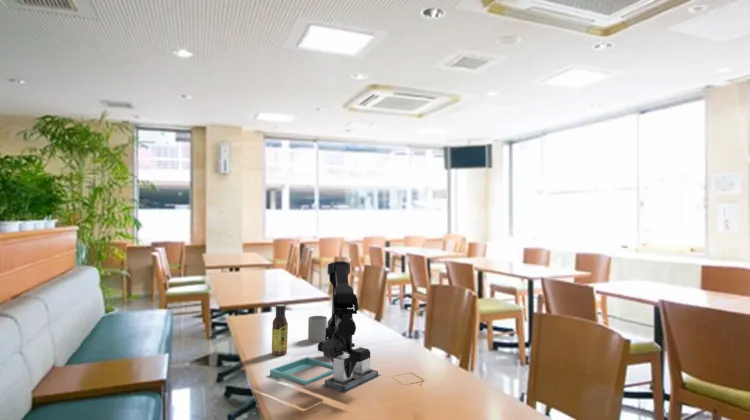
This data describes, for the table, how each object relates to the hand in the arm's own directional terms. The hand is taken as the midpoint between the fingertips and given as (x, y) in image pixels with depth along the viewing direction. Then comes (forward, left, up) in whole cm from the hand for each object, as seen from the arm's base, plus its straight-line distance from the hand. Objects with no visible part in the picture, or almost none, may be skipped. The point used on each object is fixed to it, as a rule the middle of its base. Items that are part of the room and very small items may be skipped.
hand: (343, 375), depth 148 cm
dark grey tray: (-5, 0, -4) cm, 6 cm away
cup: (-35, -46, -5) cm, 58 cm away
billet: (0, 0, -2) cm, 2 cm away
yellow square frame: (-18, +14, -5) cm, 23 cm away
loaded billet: (-9, 0, -3) cm, 10 cm away
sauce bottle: (-11, -44, -5) cm, 45 cm away
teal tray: (-1, -18, -4) cm, 18 cm away
